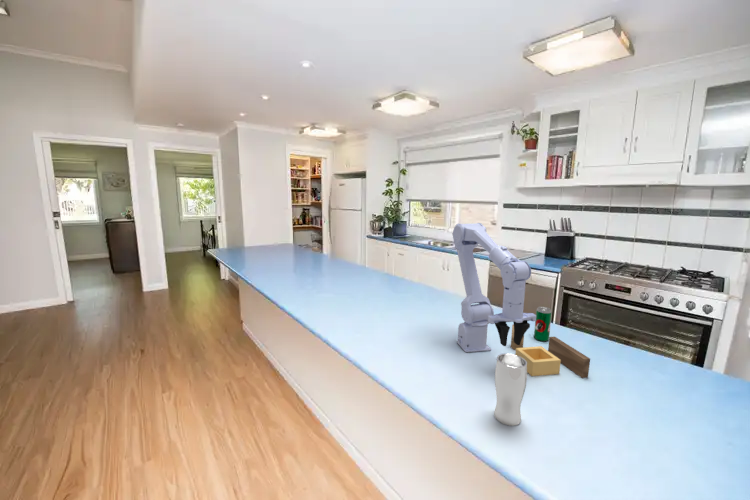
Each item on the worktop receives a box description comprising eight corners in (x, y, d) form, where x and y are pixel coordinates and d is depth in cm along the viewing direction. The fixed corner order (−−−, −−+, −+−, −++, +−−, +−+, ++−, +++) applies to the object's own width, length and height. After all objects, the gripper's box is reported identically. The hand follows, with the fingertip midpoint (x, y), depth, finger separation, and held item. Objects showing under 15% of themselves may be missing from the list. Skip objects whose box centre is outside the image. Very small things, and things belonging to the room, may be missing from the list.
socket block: (531, 376, 96) (533, 362, 95) (514, 361, 105) (515, 348, 104) (559, 373, 97) (560, 360, 97) (540, 359, 106) (541, 346, 105)
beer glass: (487, 408, 82) (491, 353, 79) (513, 407, 82) (518, 352, 80) (500, 428, 75) (504, 368, 72) (528, 426, 75) (534, 367, 73)
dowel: (514, 350, 112) (516, 328, 110) (508, 345, 116) (510, 324, 114) (525, 349, 112) (527, 328, 111) (518, 344, 116) (520, 323, 115)
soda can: (550, 342, 118) (553, 311, 116) (535, 341, 119) (538, 310, 117) (546, 336, 123) (549, 306, 121) (532, 335, 124) (534, 305, 122)
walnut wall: (581, 378, 95) (584, 359, 94) (547, 353, 110) (549, 336, 109) (587, 377, 95) (590, 358, 94) (553, 353, 110) (554, 336, 109)
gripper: (497, 307, 91) (494, 352, 93) (544, 304, 93) (540, 348, 95) (485, 299, 98) (482, 341, 100) (529, 297, 100) (525, 338, 102)
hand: (510, 344), depth 98 cm, fingers open, 4 cm apart
